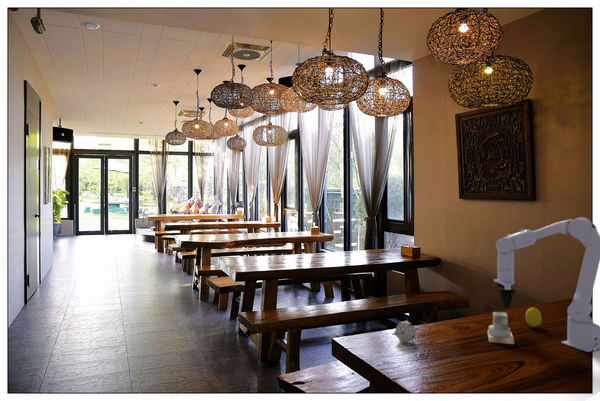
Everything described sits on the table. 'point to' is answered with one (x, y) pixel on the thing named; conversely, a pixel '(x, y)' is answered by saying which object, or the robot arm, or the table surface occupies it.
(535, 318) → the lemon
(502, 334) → the grey puck
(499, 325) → the sage cube
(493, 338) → the birch slab
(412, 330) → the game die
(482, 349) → the table surface
